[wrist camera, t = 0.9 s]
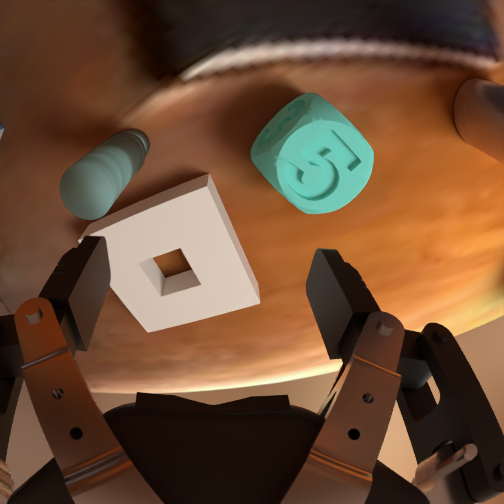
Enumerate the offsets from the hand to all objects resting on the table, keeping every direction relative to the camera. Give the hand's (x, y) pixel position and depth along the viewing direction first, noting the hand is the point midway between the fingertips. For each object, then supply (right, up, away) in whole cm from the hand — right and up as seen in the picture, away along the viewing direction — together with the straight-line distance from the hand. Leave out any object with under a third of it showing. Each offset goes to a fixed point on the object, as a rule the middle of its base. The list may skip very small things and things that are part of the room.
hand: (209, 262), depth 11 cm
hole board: (-8, 0, +24) cm, 26 cm away
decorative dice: (+7, +12, +18) cm, 22 cm away
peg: (-10, +11, +16) cm, 22 cm away
